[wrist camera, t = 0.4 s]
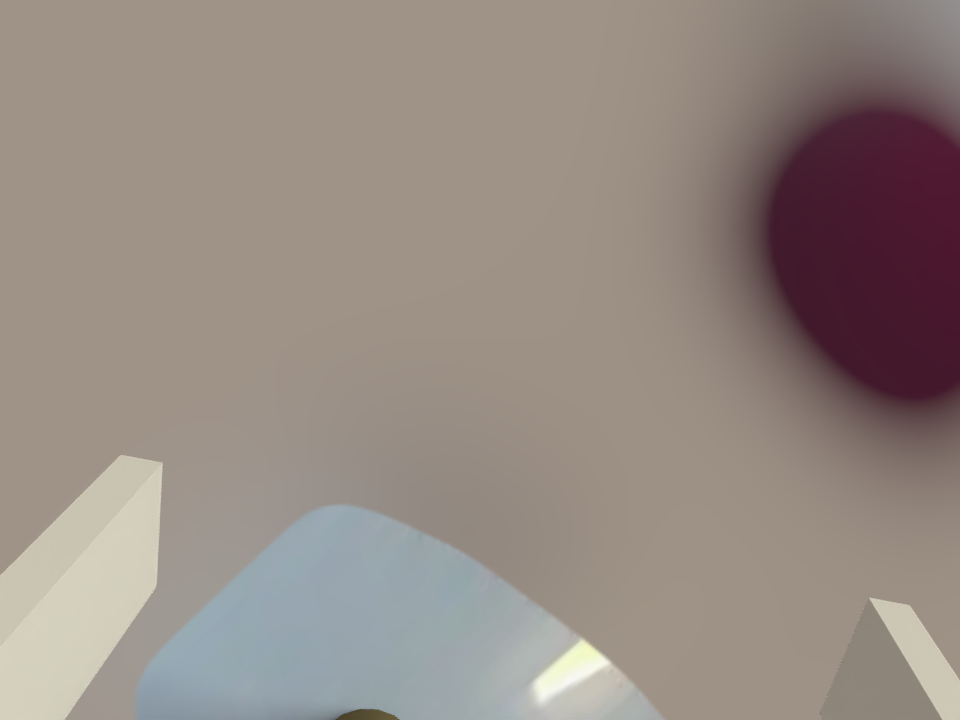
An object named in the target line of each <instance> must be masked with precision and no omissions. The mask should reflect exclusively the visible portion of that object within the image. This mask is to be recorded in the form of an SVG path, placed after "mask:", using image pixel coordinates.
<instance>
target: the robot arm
mask: <svg viewBox="0 0 960 720" xmlns="http://www.w3.org/2000/svg"><path fill="white" fill-rule="evenodd" d="M161 483H162V463H161V462H156V461H151V460H146V459H140V458H135V457H130V456H125V455H120V457H118V458H117V459H116V460H115V461H114V462H113V463H112V464H111V465H110V466H109V467H108V468H107V469H106V470H105V471H104V472H103V473H102V474H101V475H100V476H99V477H98V478H97V479H96V480H95V481H94V482H93V483H92V484H91V485H90V486H89V487H88V488H87V489H86V490H85V491H84V492H83V493H82V494H81V495H80V496H79V497H78V498H77V499H76V500H75V501H74V502H73V503H72V504H71V505H70V506H69V507H68V508H67V509H66V510H65V511H64V512H63V513H62V514H61V515H60V516H59V518H57V519H56V520H55V521H54V523H52V524H51V525H50V526H49V527H48V528H47V529H46V530H45V531H44V532H43V534H41V535H40V536H39V537H38V538H37V540H35V541H34V542H33V543H32V544H31V545H30V546H29V548H27V549H26V550H25V551H24V552H23V553H22V554H21V555H20V556H19V557H18V558H17V559H16V560H15V561H14V562H13V563H12V564H11V565H10V566H9V567H8V568H7V569H6V570H5V571H4V572H3V573H2V574H1V575H0V720H64V719H65V718H66V717H67V715H68V714H69V712H70V711H71V709H72V708H73V706H74V705H75V704H76V702H77V701H78V699H79V698H80V696H81V695H82V693H83V692H84V691H85V689H86V688H87V686H88V685H89V683H90V682H91V680H92V679H93V678H94V676H95V675H96V673H97V672H98V670H99V669H100V667H101V666H102V665H103V663H104V662H105V660H106V659H107V657H108V656H109V655H110V653H111V651H112V650H113V649H114V647H115V646H116V644H117V643H118V642H119V640H120V639H121V637H122V636H123V634H124V633H125V631H126V630H127V629H128V627H129V626H130V624H131V623H132V621H133V620H134V618H135V617H136V616H137V614H138V612H139V611H140V610H141V608H142V607H143V605H144V604H145V603H146V601H147V600H148V598H149V597H150V595H151V594H152V592H153V591H154V590H155V588H156V584H157V564H158V544H159V523H160V503H161ZM820 714H821V717H822V719H823V720H960V680H959V679H958V677H957V676H956V674H955V673H954V671H953V670H952V668H951V667H950V665H949V664H948V662H947V661H946V659H945V658H944V656H943V655H942V653H941V652H940V650H939V649H938V647H937V646H936V644H935V643H934V641H933V640H932V638H931V637H930V635H929V634H928V632H927V631H926V629H925V628H924V626H923V625H922V623H921V622H920V620H919V619H918V617H917V616H916V614H915V613H914V611H913V610H912V608H911V607H910V605H905V604H899V603H894V602H889V601H884V600H879V599H873V598H869V599H868V601H867V603H866V605H865V608H864V610H863V613H862V615H861V617H860V620H859V622H858V624H857V627H856V629H855V631H854V634H853V636H852V639H851V641H850V643H849V645H848V648H847V650H846V653H845V655H844V657H843V660H842V662H841V664H840V667H839V669H838V672H837V674H836V676H835V678H834V681H833V683H832V685H831V688H830V690H829V692H828V695H827V697H826V699H825V702H824V704H823V707H822V709H821V711H820Z"/></svg>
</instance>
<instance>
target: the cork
mask: <svg viewBox="0 0 960 720" xmlns="http://www.w3.org/2000/svg"><path fill="white" fill-rule="evenodd" d="M336 720H399V719H398V718H397V717H395V716H394V715H391V714H388V713H386V712H383V711H380V710H369V709H360V710H356V711H353V712H350V713H347V714H343V715H342V716H340V717H339V718H337V719H336Z"/></svg>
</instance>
